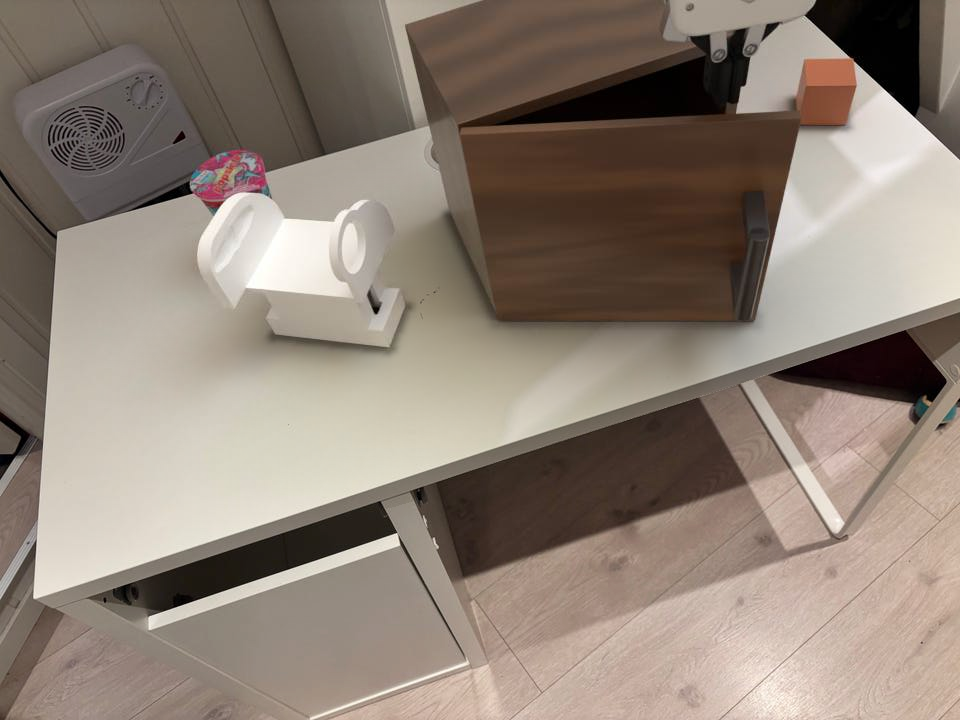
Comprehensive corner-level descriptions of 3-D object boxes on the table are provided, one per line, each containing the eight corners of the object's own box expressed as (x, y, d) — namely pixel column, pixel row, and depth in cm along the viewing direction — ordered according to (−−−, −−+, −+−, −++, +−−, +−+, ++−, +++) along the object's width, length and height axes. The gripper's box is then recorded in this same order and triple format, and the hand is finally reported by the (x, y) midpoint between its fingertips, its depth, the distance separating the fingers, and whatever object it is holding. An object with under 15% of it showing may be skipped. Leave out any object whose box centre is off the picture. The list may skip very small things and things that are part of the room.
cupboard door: (760, 367, 71) (812, 168, 52) (491, 364, 77) (448, 181, 57) (754, 313, 75) (800, 109, 56) (498, 313, 80) (460, 127, 61)
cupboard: (718, 235, 83) (748, 28, 63) (495, 313, 81) (457, 124, 61) (647, 145, 94) (654, -55, 74) (449, 211, 92) (404, 24, 72)
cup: (226, 277, 91) (180, 202, 81) (242, 229, 96) (200, 153, 86) (299, 271, 89) (261, 194, 80) (311, 222, 94) (276, 145, 85)
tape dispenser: (413, 287, 85) (372, 161, 71) (378, 379, 78) (324, 259, 64) (303, 277, 89) (242, 155, 74) (259, 364, 81) (183, 247, 67)
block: (842, 98, 93) (853, 58, 89) (845, 125, 90) (857, 85, 86) (795, 98, 95) (804, 58, 90) (797, 125, 92) (806, 85, 87)
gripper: (649, -116, 44) (640, 139, 59) (907, -166, 43) (833, 106, 58) (624, -162, 49) (621, 85, 63) (856, -209, 48) (799, 53, 62)
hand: (722, 94), depth 60 cm, fingers closed
